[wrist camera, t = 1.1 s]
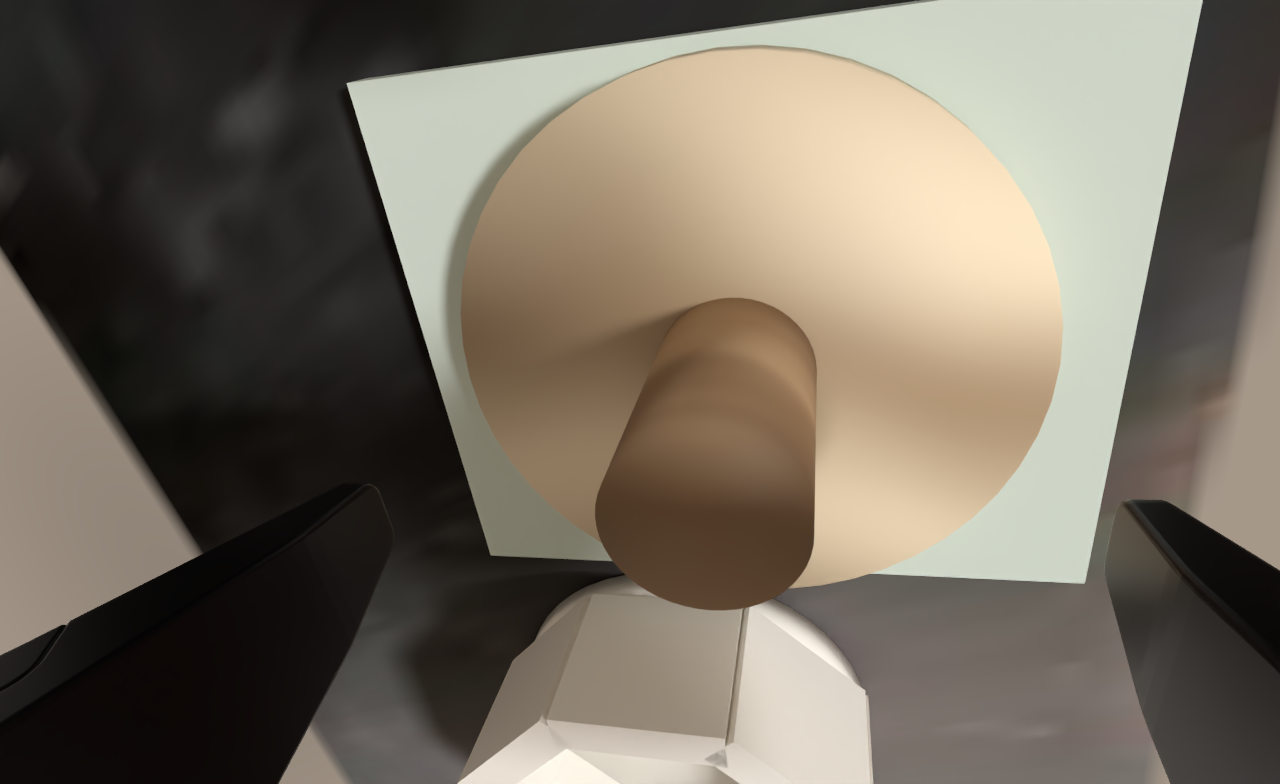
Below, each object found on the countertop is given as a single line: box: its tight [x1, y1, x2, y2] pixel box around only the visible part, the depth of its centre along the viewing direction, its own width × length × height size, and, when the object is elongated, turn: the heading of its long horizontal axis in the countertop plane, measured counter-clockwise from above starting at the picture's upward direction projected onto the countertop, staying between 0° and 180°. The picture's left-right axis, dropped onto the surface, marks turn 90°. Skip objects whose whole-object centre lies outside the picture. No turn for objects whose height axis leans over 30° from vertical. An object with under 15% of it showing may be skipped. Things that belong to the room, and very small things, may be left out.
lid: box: [461, 45, 1063, 610], centre depth 11 cm, size 10×10×5 cm
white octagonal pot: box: [458, 575, 873, 784], centre depth 17 cm, size 8×8×4 cm
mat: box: [347, 0, 1203, 584], centre depth 13 cm, size 10×12×1 cm
